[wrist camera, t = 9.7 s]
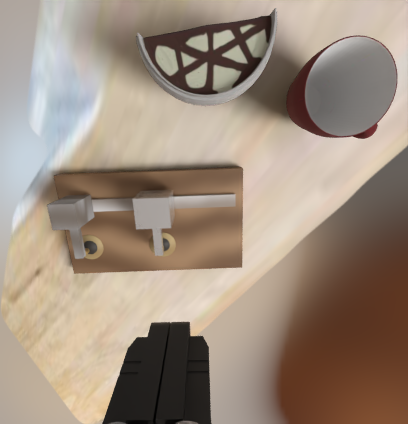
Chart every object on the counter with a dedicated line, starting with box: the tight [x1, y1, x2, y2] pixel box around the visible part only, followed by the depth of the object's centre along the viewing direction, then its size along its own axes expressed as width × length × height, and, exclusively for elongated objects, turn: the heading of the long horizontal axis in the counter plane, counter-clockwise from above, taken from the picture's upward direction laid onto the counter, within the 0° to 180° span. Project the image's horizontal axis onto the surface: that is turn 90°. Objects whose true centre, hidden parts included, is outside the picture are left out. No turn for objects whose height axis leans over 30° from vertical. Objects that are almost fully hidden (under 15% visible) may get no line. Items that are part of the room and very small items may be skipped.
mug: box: [286, 36, 397, 139], centre depth 27 cm, size 10×8×10 cm
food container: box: [136, 8, 277, 106], centre depth 26 cm, size 12×6×10 cm, turn 99°
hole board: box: [47, 167, 243, 274], centre depth 33 cm, size 14×24×6 cm, turn 92°
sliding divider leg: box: [132, 190, 175, 256], centre depth 31 cm, size 8×4×4 cm, turn 2°
